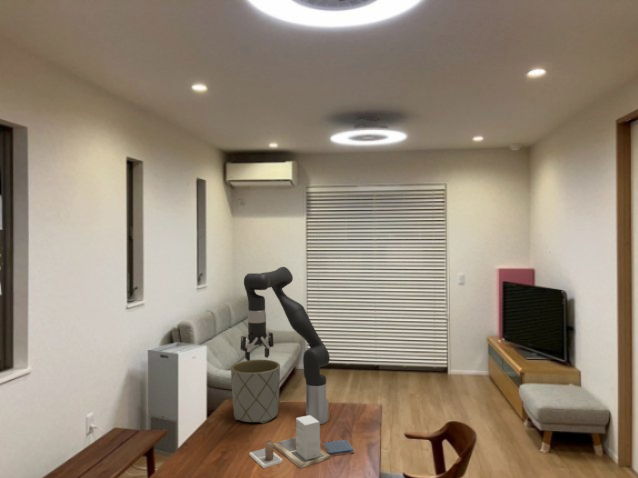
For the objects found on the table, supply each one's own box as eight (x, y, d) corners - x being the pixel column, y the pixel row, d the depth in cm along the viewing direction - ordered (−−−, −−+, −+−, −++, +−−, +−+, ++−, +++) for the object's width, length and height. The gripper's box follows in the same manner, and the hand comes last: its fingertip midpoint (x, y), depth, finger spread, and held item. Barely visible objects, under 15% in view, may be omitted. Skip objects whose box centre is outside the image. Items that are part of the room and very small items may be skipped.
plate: (268, 449, 181) (267, 431, 180) (282, 462, 170) (282, 443, 170) (249, 455, 176) (249, 436, 176) (263, 468, 166) (263, 448, 166)
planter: (222, 423, 207) (221, 371, 207) (244, 405, 229) (244, 358, 229) (269, 428, 201) (268, 374, 201) (287, 409, 223) (287, 361, 222)
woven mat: (347, 442, 187) (347, 437, 187) (355, 455, 177) (355, 449, 177) (322, 446, 185) (322, 441, 184) (328, 458, 174) (328, 453, 174)
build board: (301, 438, 191) (301, 435, 191) (329, 458, 173) (329, 454, 173) (273, 446, 183) (273, 443, 183) (300, 468, 166) (300, 464, 166)
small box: (320, 456, 172) (320, 421, 172) (305, 460, 169) (305, 425, 169) (310, 447, 179) (310, 414, 179) (295, 451, 176) (295, 417, 176)
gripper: (245, 323, 187) (245, 363, 188) (276, 320, 195) (276, 358, 195) (237, 321, 194) (238, 359, 194) (268, 317, 202) (268, 354, 202)
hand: (257, 358), depth 195 cm, fingers open, 8 cm apart
